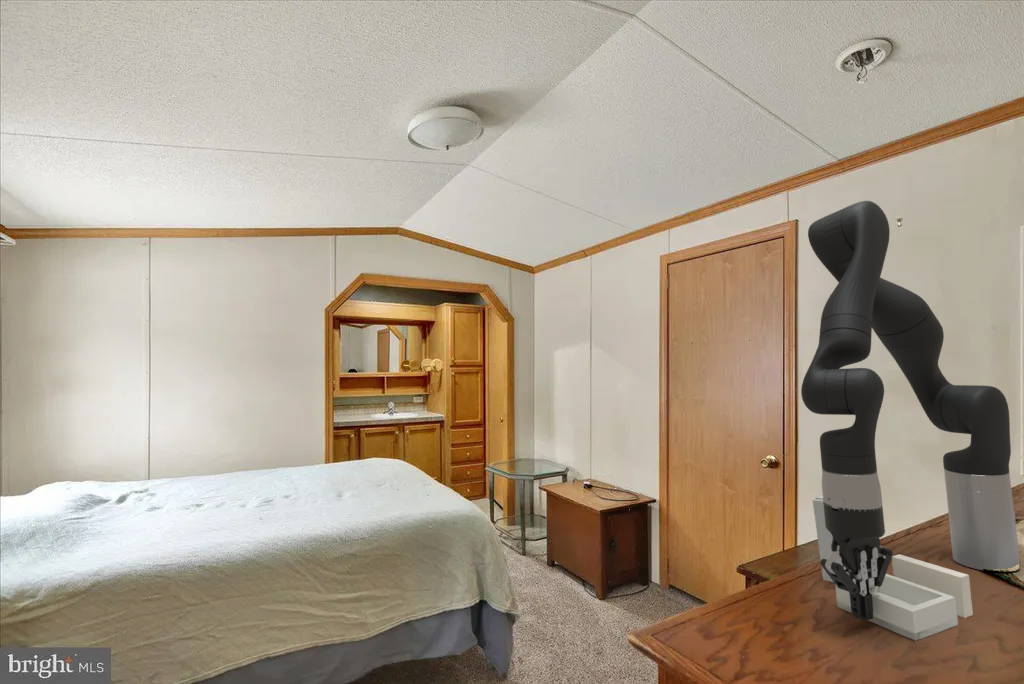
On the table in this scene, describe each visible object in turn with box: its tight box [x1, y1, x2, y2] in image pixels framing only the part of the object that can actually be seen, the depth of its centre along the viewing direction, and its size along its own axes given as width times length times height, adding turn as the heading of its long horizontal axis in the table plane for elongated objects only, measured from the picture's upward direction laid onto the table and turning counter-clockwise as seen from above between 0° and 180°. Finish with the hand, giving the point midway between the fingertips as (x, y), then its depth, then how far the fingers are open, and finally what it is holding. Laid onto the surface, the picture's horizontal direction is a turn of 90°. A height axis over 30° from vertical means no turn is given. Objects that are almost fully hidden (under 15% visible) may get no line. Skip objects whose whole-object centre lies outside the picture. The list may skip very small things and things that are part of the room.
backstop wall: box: [891, 553, 974, 619], centre depth 83 cm, size 2×10×6 cm, turn 21°
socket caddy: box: [834, 573, 959, 641], centre depth 79 cm, size 10×12×4 cm
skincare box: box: [812, 494, 878, 583], centre depth 92 cm, size 8×6×15 cm
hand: (862, 617), depth 77 cm, fingers closed
